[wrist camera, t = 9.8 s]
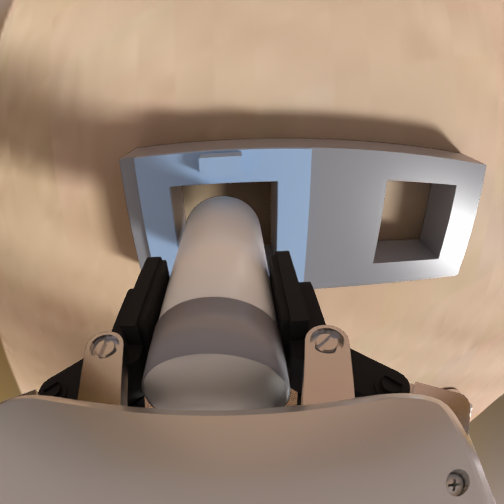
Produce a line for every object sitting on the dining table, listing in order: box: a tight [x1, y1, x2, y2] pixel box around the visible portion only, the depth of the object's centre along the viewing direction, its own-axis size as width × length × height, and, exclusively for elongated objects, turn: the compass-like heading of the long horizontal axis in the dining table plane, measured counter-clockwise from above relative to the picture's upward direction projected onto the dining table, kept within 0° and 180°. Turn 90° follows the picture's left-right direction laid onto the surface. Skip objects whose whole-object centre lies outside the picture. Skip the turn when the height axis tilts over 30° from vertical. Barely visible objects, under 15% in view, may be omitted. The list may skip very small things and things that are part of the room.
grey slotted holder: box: [119, 138, 486, 289], centre depth 18 cm, size 23×9×4 cm, turn 91°
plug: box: [142, 196, 291, 410], centre depth 12 cm, size 4×4×10 cm
